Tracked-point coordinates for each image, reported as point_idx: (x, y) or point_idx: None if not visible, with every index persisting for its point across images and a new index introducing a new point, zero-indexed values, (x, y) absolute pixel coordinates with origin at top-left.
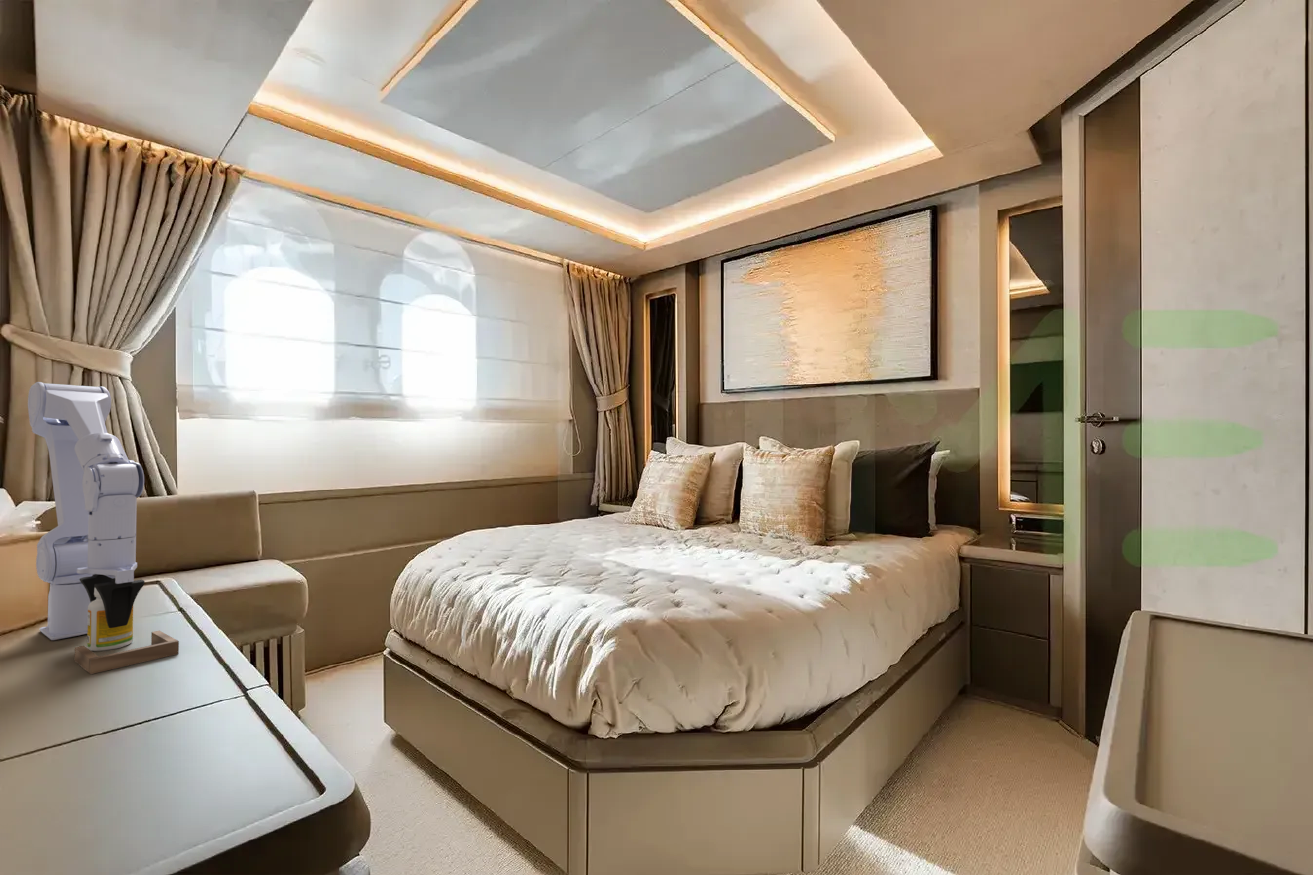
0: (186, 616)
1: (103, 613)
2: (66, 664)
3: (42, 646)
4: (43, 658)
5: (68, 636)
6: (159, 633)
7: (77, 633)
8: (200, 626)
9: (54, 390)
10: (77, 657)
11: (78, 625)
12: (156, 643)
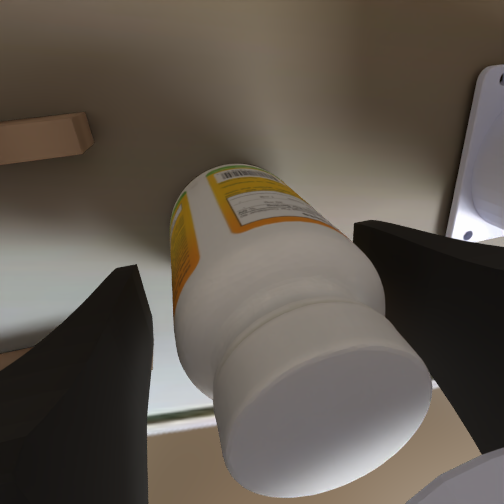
0: None
1: (182, 280)
2: (43, 80)
3: (437, 32)
4: (232, 12)
5: (470, 120)
6: None
7: (469, 147)
8: None
9: None
10: (21, 121)
11: (500, 156)
12: None
